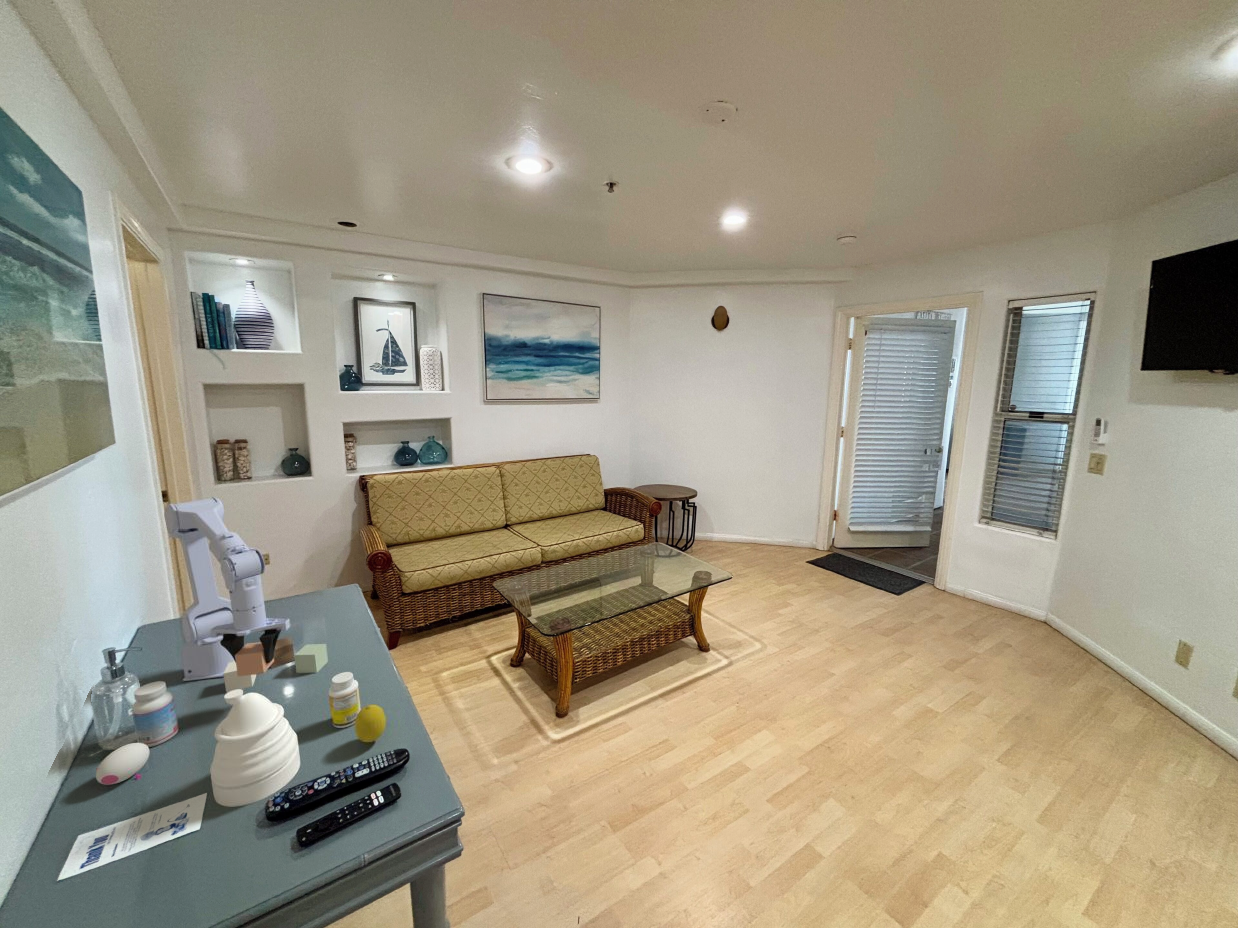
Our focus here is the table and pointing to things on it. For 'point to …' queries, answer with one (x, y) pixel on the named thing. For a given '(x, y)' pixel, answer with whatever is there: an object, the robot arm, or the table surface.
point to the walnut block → (283, 652)
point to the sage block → (311, 658)
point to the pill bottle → (154, 714)
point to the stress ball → (122, 763)
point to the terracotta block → (251, 660)
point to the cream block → (236, 678)
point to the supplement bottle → (344, 700)
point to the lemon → (370, 723)
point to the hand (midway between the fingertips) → (255, 662)
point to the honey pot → (252, 751)
